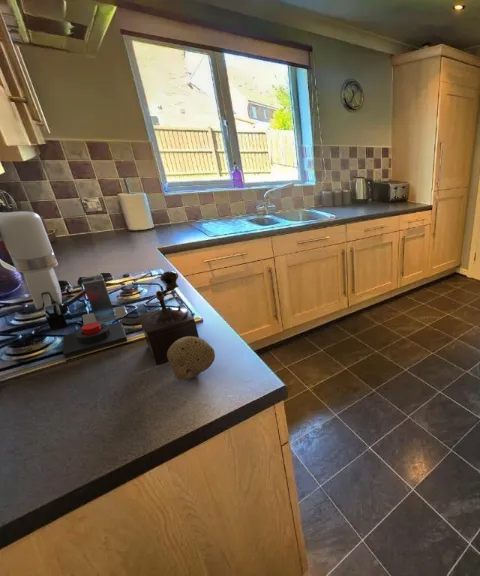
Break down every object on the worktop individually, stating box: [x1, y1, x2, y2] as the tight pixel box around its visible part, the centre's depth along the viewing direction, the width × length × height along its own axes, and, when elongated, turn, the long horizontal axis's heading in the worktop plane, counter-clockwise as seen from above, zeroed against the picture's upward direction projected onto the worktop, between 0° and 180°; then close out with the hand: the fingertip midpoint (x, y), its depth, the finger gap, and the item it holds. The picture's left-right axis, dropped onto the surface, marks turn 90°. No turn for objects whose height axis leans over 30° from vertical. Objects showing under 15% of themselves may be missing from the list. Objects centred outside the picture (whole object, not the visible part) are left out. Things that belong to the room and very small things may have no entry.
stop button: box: [81, 322, 102, 335], centre depth 83 cm, size 4×4×2 cm
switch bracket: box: [81, 274, 128, 326], centre depth 94 cm, size 10×8×13 cm
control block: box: [62, 321, 129, 362], centre depth 84 cm, size 12×10×4 cm
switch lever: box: [53, 278, 98, 315], centre depth 90 cm, size 13×3×3 cm, turn 131°
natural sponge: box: [167, 336, 216, 381], centre depth 74 cm, size 9×9×10 cm
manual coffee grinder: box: [138, 270, 200, 366], centre depth 83 cm, size 16×11×18 cm
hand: (59, 320), depth 90 cm, fingers open, 9 cm apart
